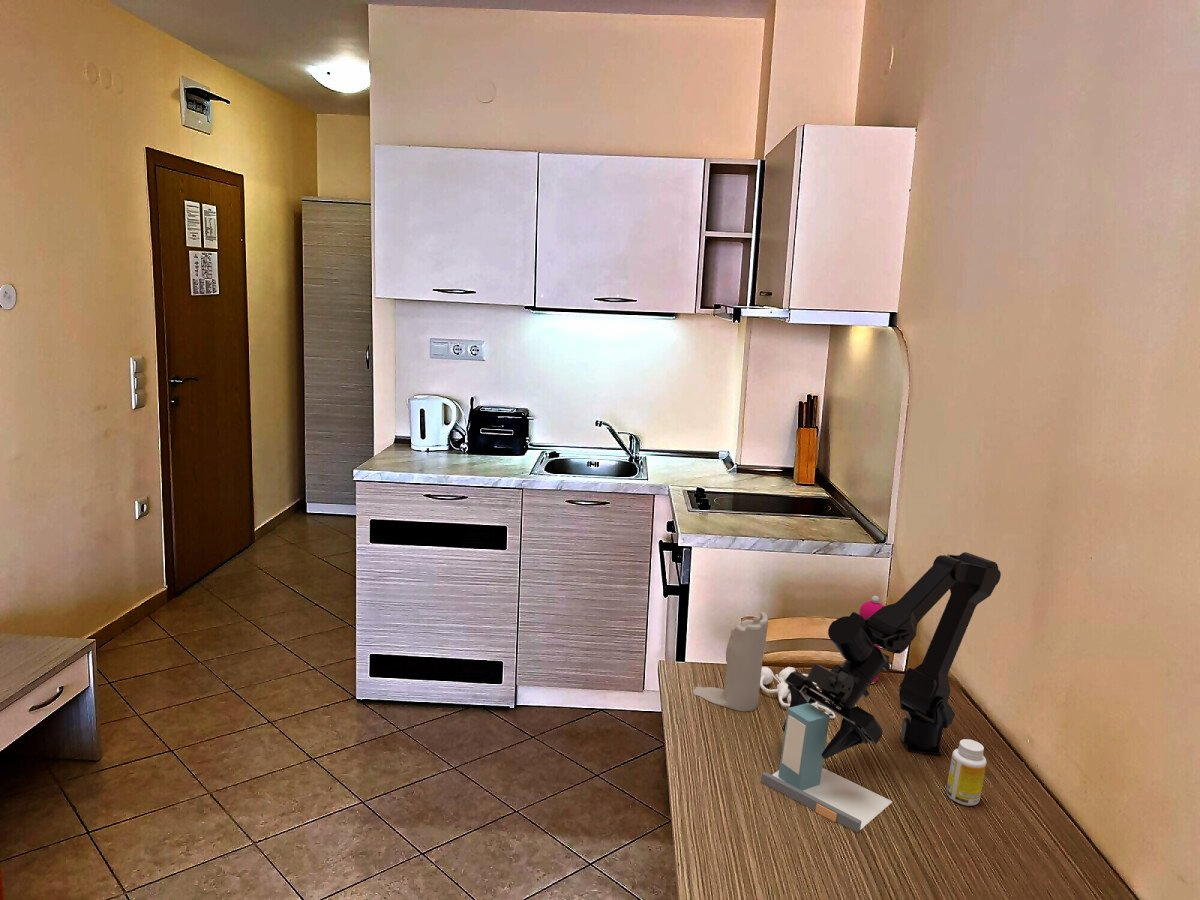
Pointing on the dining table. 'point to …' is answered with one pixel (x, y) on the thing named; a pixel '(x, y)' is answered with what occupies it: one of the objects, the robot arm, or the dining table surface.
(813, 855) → the dining table surface
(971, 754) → the supplement bottle
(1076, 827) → the dining table surface
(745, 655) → the candle
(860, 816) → the white base plate
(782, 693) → the tangled rod sculpture
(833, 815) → the ticket
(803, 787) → the carton
